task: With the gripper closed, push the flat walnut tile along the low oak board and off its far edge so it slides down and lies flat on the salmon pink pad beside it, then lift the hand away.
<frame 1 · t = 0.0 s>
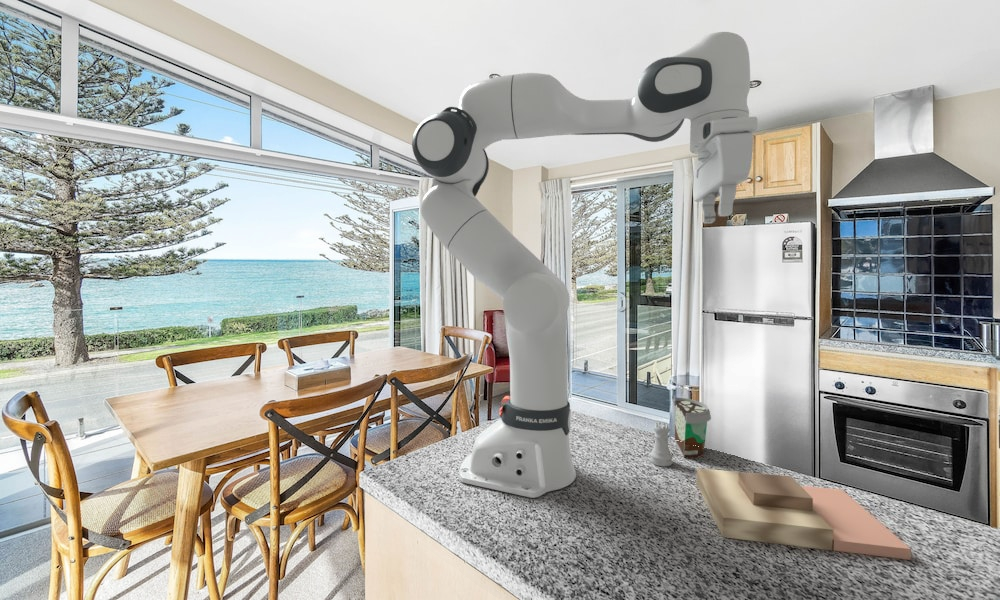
hand: (716, 219, 72), 48 cm above the counter, tool pointing down, fingers open, 8 cm apart
walnut tile: (772, 496, 67), point 3 cm above the counter, touching oak board
salmon pink pad: (838, 521, 65), on the counter
oak board: (755, 512, 68), on the counter
rook chess piece: (661, 463, 86), on the counter
food container: (693, 450, 92), on the counter
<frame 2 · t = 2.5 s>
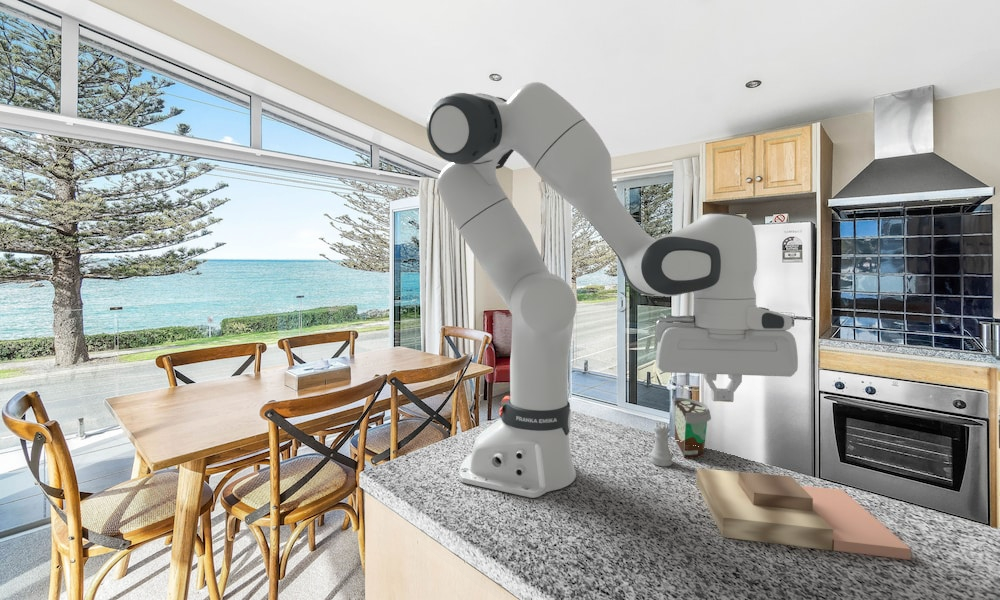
hand: (722, 400, 68), 18 cm above the counter, tool pointing down, fingers closed
nothing on the counter moved.
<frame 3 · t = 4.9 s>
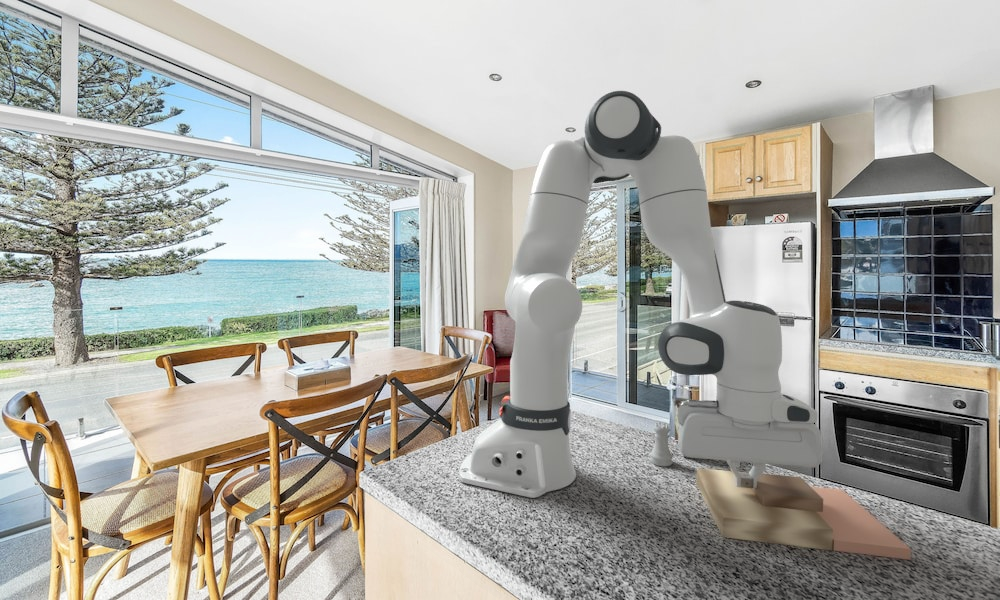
hand: (744, 486, 68), 4 cm above the counter, tool pointing down, fingers closed
walnut tile: (782, 497, 67), point 3 cm above the counter, touching oak board
everything else where it was.
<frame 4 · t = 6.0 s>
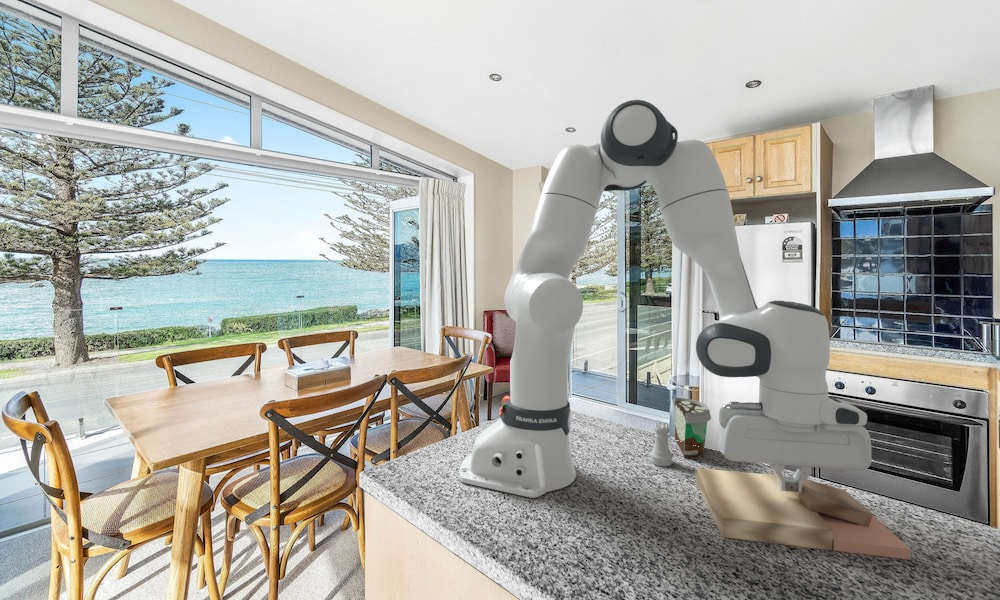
hand: (789, 490, 66), 4 cm above the counter, tool pointing down, fingers closed
walnut tile: (825, 505, 66), point 2 cm above the counter, tilted 12°, touching salmon pink pad
everything else where it was.
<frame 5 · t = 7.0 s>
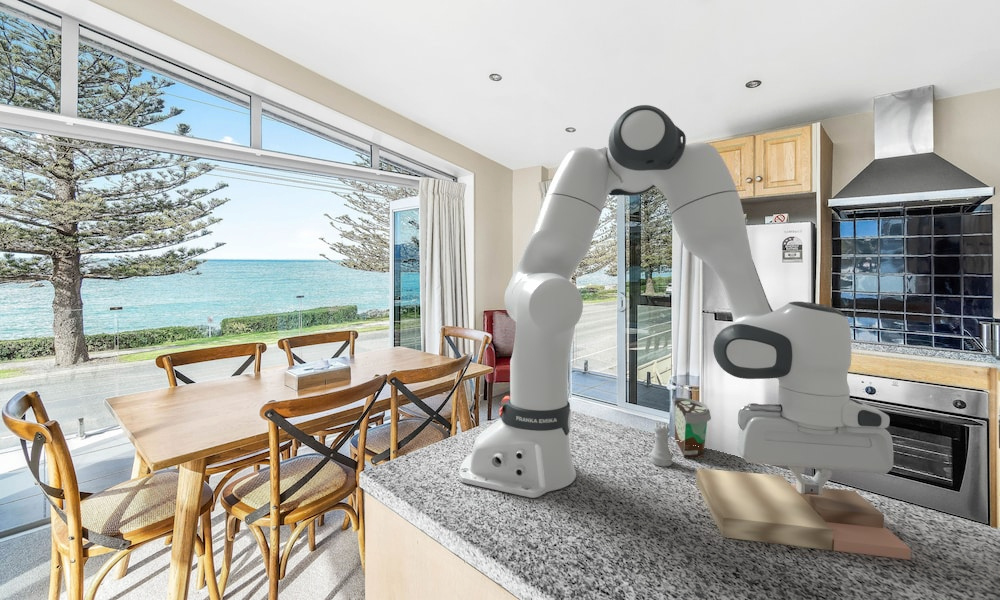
hand: (808, 492, 66), 4 cm above the counter, tool pointing down, fingers closed
walnut tile: (838, 511, 65), point 1 cm above the counter, touching salmon pink pad
everything else where it was.
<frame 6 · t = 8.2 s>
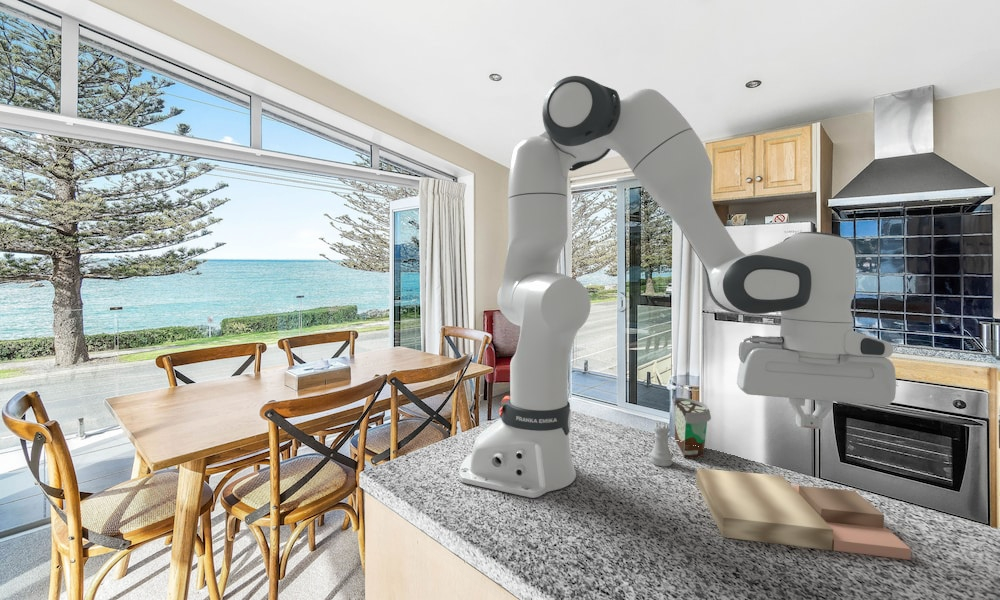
hand: (808, 427, 65), 15 cm above the counter, tool pointing down, fingers closed
nothing on the counter moved.
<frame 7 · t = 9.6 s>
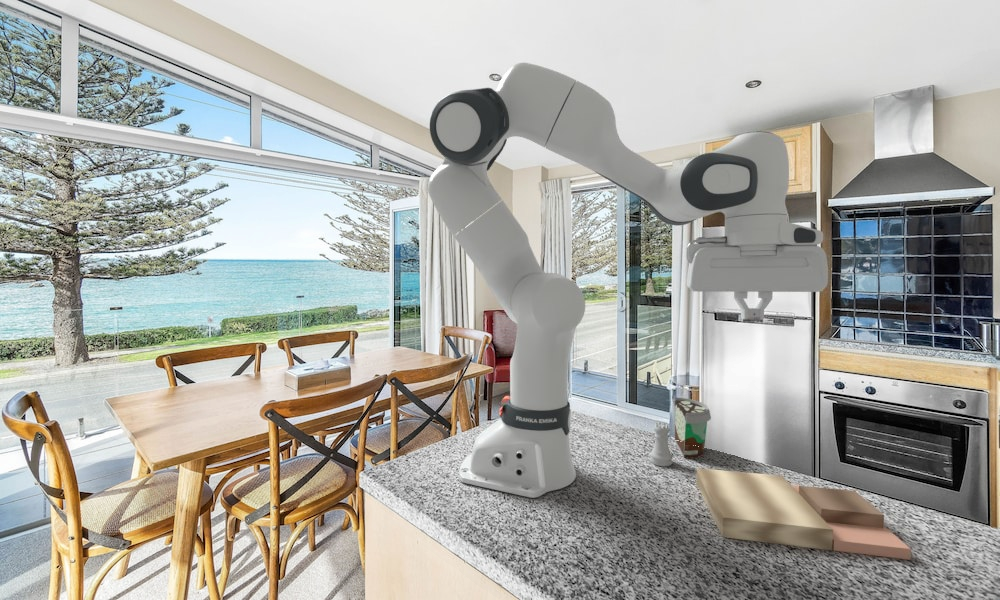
hand: (752, 319, 70), 31 cm above the counter, tool pointing down, fingers closed
nothing on the counter moved.
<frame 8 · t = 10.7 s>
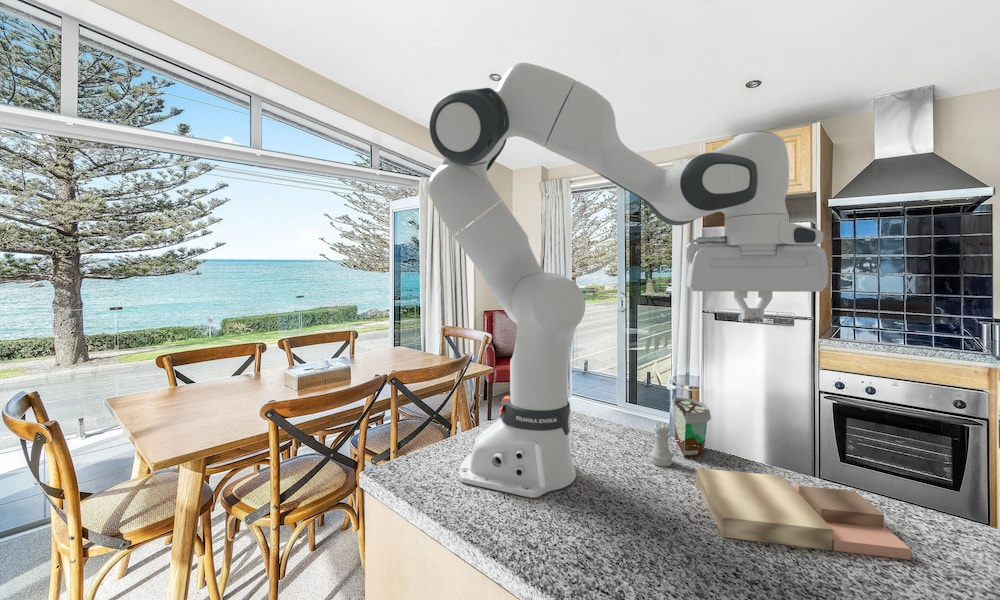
hand: (752, 319, 70), 31 cm above the counter, tool pointing down, fingers closed
nothing on the counter moved.
at the end: walnut tile point 1.5 cm above the counter; walnut tile inside the target area (0.3 cm from its centre), point 1.5 cm above the counter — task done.
